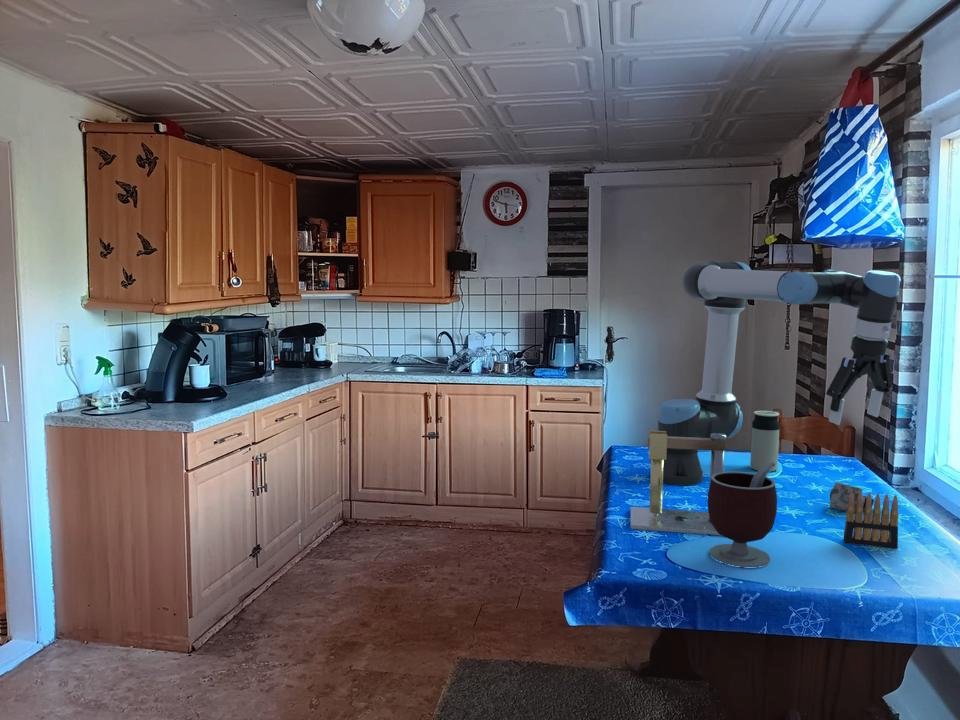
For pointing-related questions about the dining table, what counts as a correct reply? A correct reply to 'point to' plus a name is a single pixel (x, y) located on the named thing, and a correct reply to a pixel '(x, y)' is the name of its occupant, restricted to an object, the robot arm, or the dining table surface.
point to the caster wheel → (844, 496)
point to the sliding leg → (657, 469)
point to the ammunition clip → (871, 522)
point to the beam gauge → (682, 518)
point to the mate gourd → (742, 514)
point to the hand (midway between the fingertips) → (853, 419)
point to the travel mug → (764, 440)
